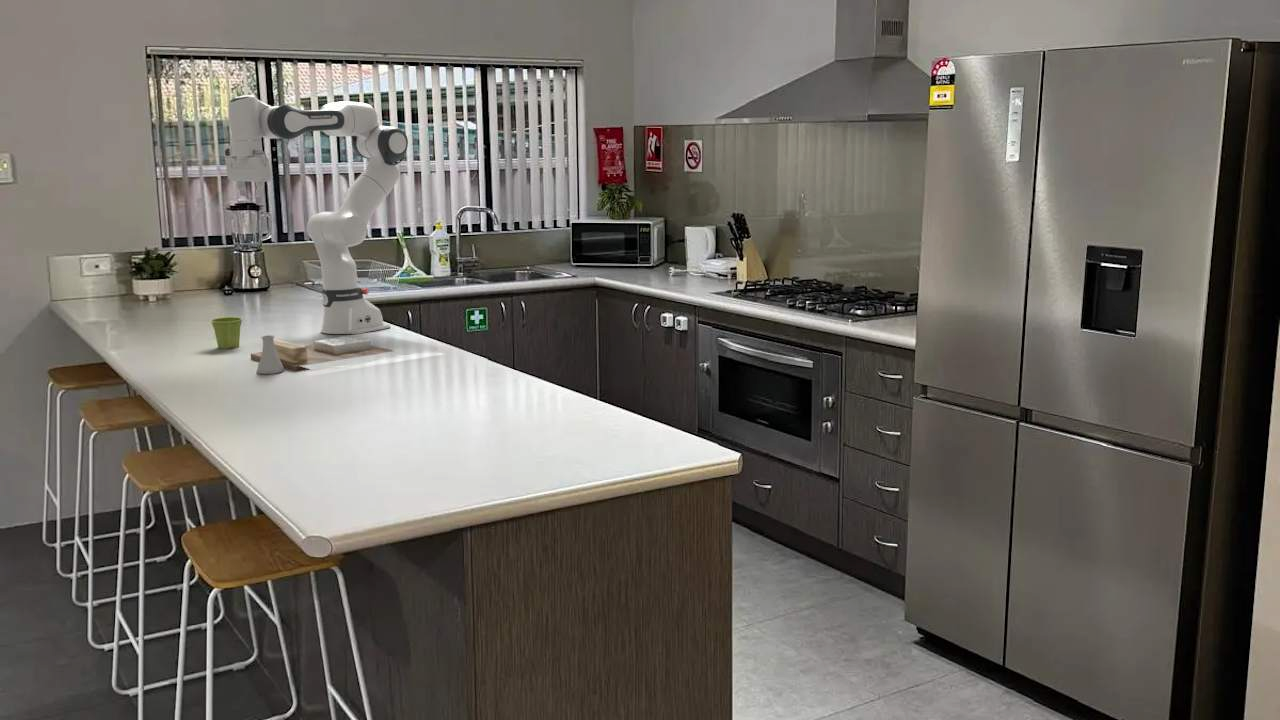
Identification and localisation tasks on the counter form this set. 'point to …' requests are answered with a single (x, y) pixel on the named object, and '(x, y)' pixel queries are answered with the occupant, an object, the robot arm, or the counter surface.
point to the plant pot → (227, 331)
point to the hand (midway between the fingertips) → (251, 196)
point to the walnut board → (323, 357)
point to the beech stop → (290, 351)
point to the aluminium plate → (342, 345)
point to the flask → (269, 358)
